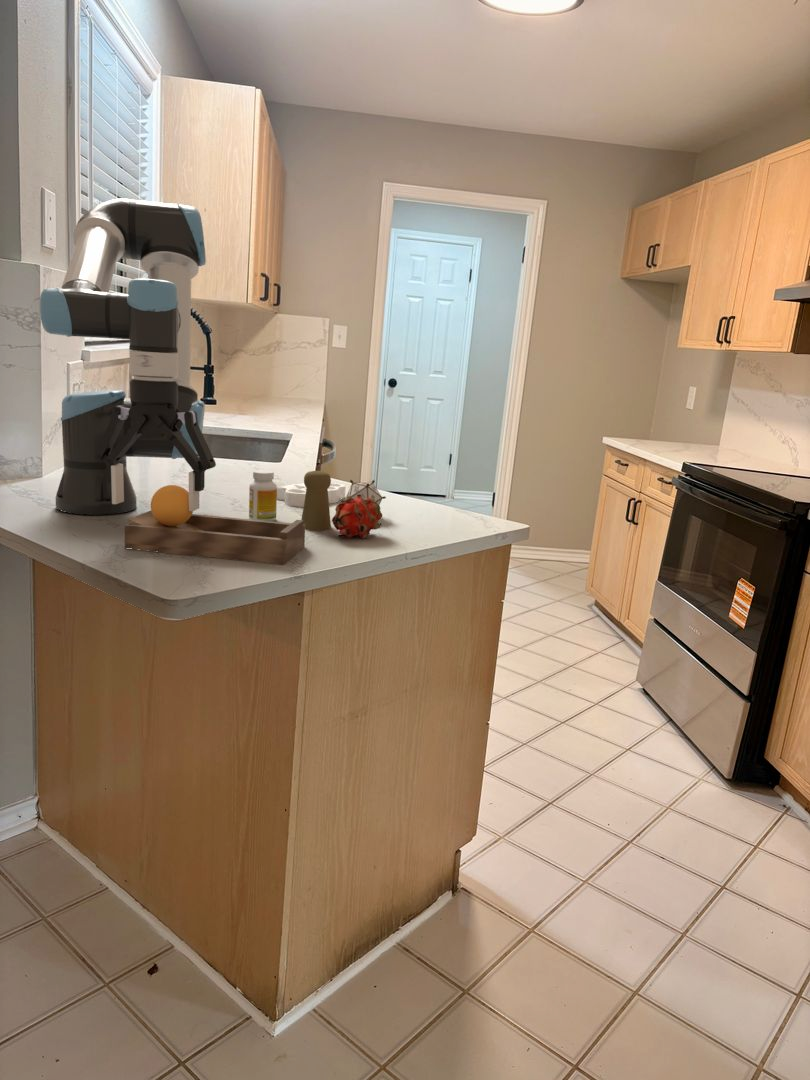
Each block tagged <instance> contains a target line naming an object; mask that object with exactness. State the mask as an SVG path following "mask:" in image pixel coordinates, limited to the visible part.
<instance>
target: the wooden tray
mask: <svg viewBox="0 0 810 1080" xmlns="http://www.w3.org/2000/svg"><path fill="white" fill-rule="evenodd" d="M305 538H306V529H305V524H304V520H301V519H295V520H294V521H293V522H282V521H262V520H251V519H249V518H239V517H238V518H237V517H227V516H219V515H207V514H196V513H194V514H193V513H192V515H191V517H190V518H189V519H188V520H187V521H186V522H185V523H183V524H181V525H178V526H166V525H164V524H162V523H160V522H159V521H157V520H156V519H155V517H154V516H153V514H152V511H151V510H149V511H146V512H143V513H141V514H138V515H137V516H133V517H132V518H129V520H128V522H127V524H124V548H132V549H140V550H139V551H141V550H149V551H148V552H151V551H158V552H157V553H161V552H166V553H165V554H171V553H174V554H173V555H181V554H186V555H185V556H191V555H199V556H198V557H201V556H208V557H207V558H211V557H215V558H214V559H222V558H227V559H226V560H232V559H237V560H236V561H242V560H245V562H252V561H255V562H256V563H262V562H266V563H265V564H272V563H274V565H282V566H283V565H286V564H287V563H288V562H289V561H290V560H291V559H293V558H294V557H295V556H296V555H297V554H298V553H299V552H300V551H302V549H304V548H305V541H306V539H305Z"/></svg>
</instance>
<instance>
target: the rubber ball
mask: <svg viewBox="0 0 810 1080" xmlns="http://www.w3.org/2000/svg"><path fill="white" fill-rule="evenodd" d="M150 511H152V514H153V516H154V517H155V519H156V520H157V521H159V522H160V523H162V524H164V525H166V526H178V525H181V524H183V523H185V522H186V521H187V520H188V519H189V518H190V517H191V515H192V514H193V512H194V511H189V490H187V489H185V488H184V487H182V486H181V485H180V486H179V485H176V484H169V485H164V486H162V487H160V488H158V489H157V490H156V491H155V493H153V496H152V498H151V500H150Z"/></svg>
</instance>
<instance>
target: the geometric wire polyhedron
mask: <svg viewBox="0 0 810 1080" xmlns="http://www.w3.org/2000/svg"><path fill="white" fill-rule="evenodd" d="M349 482H350V483H351V485H350V486H349V490H348V491H347V494H346V495H345V499H341V501H340V503H343V502H345V500H346V499H347V498H348V497H349V498H353V499H356V498H357V495H361V496H362V498H363V499H365V500H367V499H368V498H374V499H375V503H377V504H379V506H380V505H381V502H382V500H383V499H386V498H387V497H386V496H384V495H381V493H380V492H379V490H378V489H377V488H376V486H375V485H374V483H376V480H375V479H373V480H372V481H371V482H354V481H353V480H352V479H350V480H349Z"/></svg>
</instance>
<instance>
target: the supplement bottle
mask: <svg viewBox="0 0 810 1080" xmlns="http://www.w3.org/2000/svg"><path fill="white" fill-rule="evenodd" d="M252 473H253V474H252V477H253V480H254V481H253V480H252V481H251V482H250V483H249V487H248V488H249V489H248V490H249V495H248V496H249V498H248V501H249V502H248V503H249V504H248V519H251V520H262V521H273V522H275V521H276V520H277V503H278V502H277V501H278V499H277V487H278V486H277V484H276V483H275V482H274V481H273V480H274V478H275V476H274V475H275V474H274V471H271V470H265V469H259V470H258V469H257V470H254V471H253V472H252Z"/></svg>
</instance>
